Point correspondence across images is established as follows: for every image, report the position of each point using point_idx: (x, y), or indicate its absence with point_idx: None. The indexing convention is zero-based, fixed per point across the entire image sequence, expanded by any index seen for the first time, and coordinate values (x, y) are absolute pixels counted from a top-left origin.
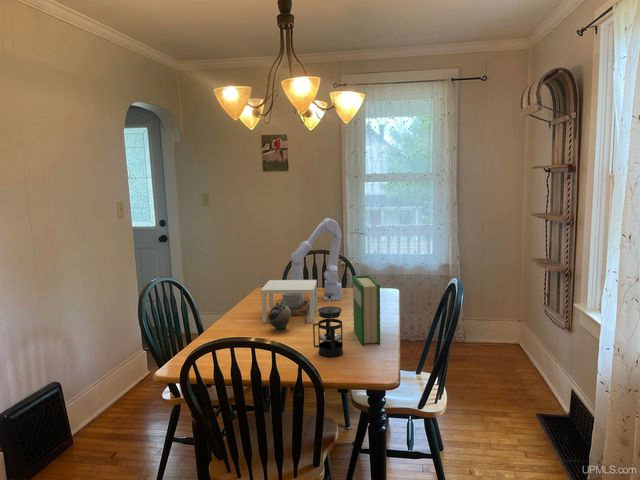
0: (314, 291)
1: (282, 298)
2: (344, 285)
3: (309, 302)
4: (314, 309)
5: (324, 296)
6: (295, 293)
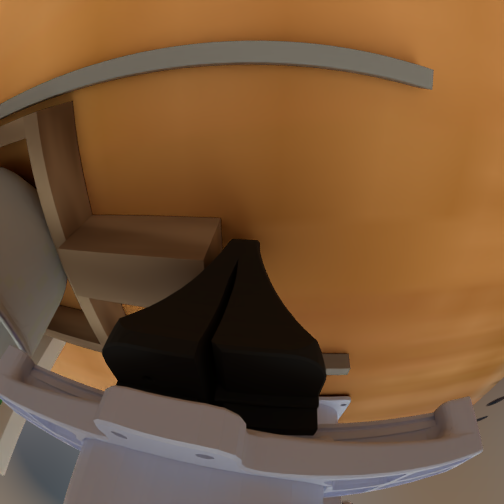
0: (3, 413)
1: (265, 46)
2: (489, 404)
3: (77, 344)
4: (43, 335)
5: (331, 399)
6: (15, 318)
